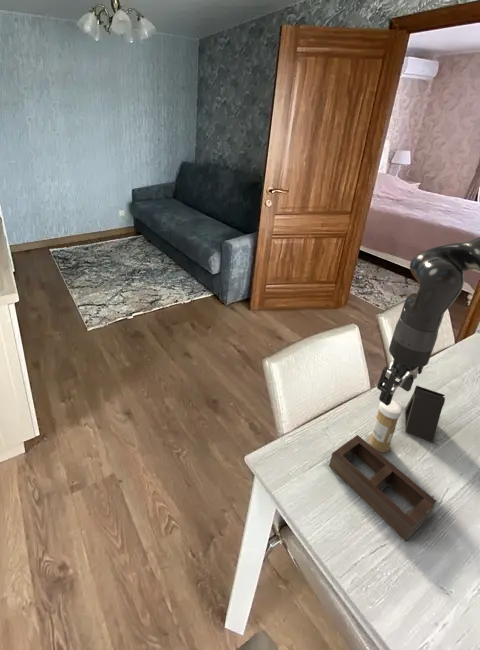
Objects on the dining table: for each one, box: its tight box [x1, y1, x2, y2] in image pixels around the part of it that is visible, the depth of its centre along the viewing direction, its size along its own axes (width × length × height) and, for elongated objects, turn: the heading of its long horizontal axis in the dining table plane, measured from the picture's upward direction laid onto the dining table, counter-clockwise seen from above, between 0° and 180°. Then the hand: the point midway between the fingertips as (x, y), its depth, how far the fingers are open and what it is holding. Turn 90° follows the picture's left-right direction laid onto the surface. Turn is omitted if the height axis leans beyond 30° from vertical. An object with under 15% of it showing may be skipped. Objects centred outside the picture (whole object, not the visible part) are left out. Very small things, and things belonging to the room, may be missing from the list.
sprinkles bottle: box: [368, 399, 403, 453], centre depth 85 cm, size 5×5×14 cm
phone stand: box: [404, 385, 446, 443], centre depth 91 cm, size 9×6×12 cm, turn 148°
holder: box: [328, 434, 438, 542], centre depth 77 cm, size 10×18×4 cm, turn 30°
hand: (394, 395), depth 82 cm, fingers open, 8 cm apart
